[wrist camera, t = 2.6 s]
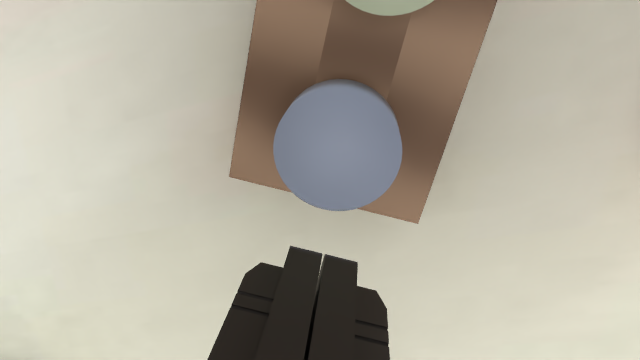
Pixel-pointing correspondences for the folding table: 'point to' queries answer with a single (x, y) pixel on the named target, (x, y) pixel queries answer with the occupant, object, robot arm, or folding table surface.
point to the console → (361, 80)
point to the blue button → (338, 145)
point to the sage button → (389, 6)
